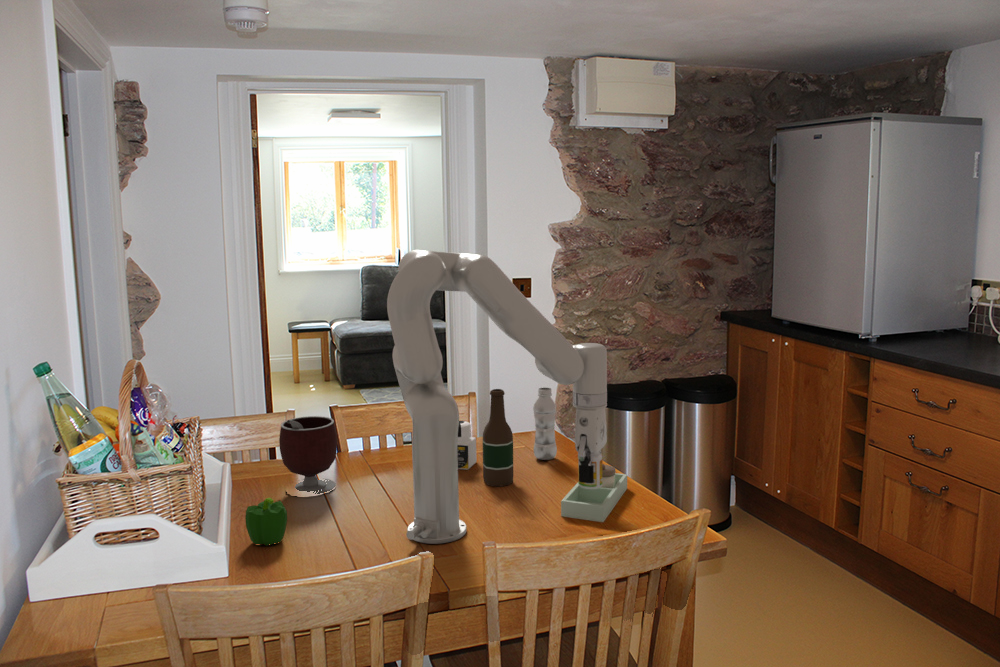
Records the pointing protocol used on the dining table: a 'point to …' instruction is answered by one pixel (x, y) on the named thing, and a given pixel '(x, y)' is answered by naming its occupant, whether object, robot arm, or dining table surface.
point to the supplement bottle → (597, 472)
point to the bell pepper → (266, 522)
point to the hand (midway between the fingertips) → (590, 477)
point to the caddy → (593, 500)
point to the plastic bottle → (545, 425)
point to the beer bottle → (497, 444)
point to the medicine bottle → (466, 446)
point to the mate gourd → (309, 450)
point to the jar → (608, 476)
